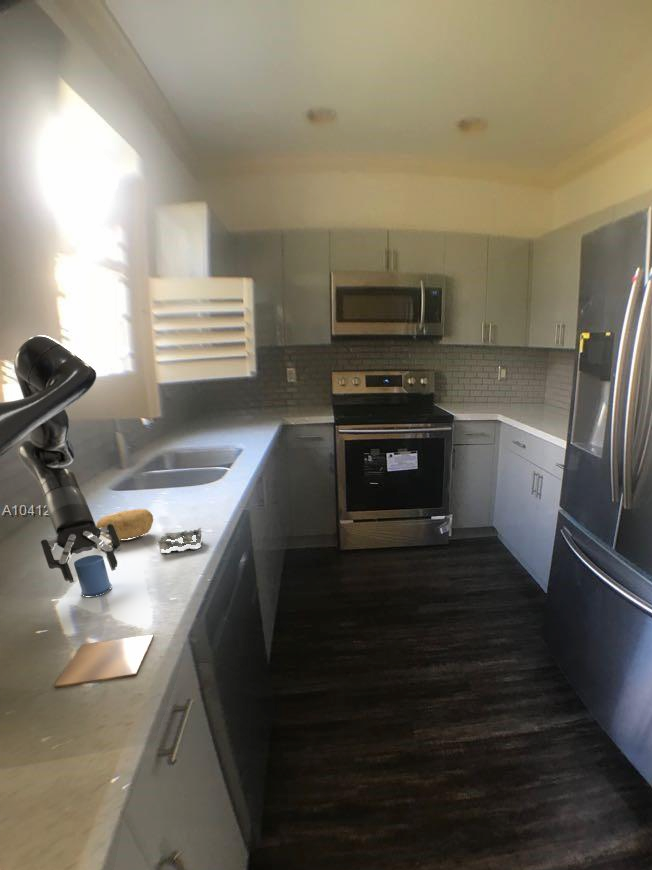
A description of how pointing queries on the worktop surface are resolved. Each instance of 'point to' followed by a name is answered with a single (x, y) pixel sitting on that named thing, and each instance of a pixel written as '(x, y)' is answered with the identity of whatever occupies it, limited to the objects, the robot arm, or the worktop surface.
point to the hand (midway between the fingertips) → (93, 574)
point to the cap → (92, 575)
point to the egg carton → (186, 539)
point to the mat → (106, 661)
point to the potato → (128, 523)
